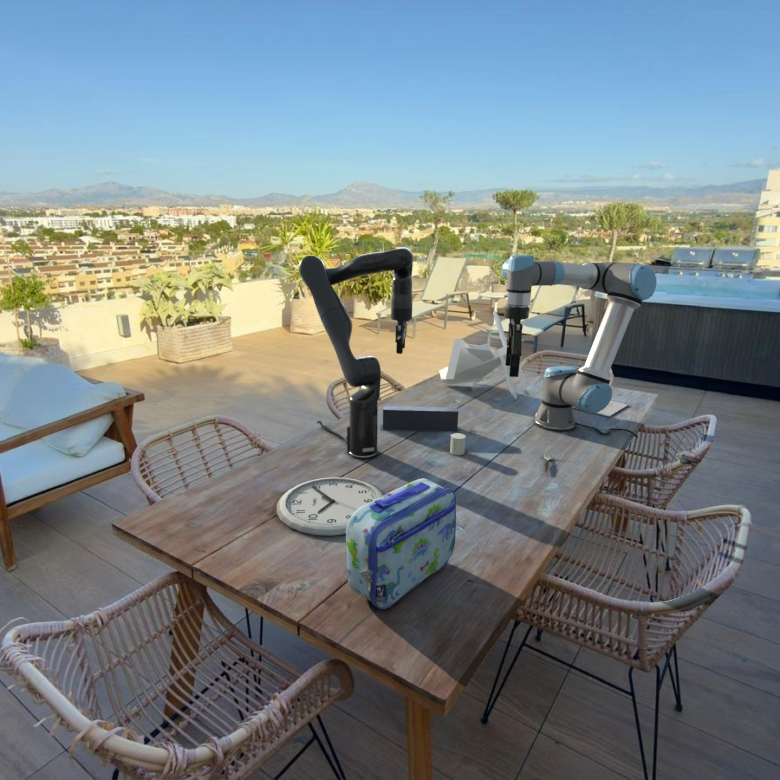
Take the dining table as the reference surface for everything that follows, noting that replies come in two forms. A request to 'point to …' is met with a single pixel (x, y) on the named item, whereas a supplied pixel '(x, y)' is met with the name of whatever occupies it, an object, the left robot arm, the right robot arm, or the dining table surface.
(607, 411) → the invitation card
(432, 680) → the dining table surface
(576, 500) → the dining table surface
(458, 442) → the off-white cylinder
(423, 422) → the bar
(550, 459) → the fork
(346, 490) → the wall clock
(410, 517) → the lunch box
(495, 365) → the white plastic object
